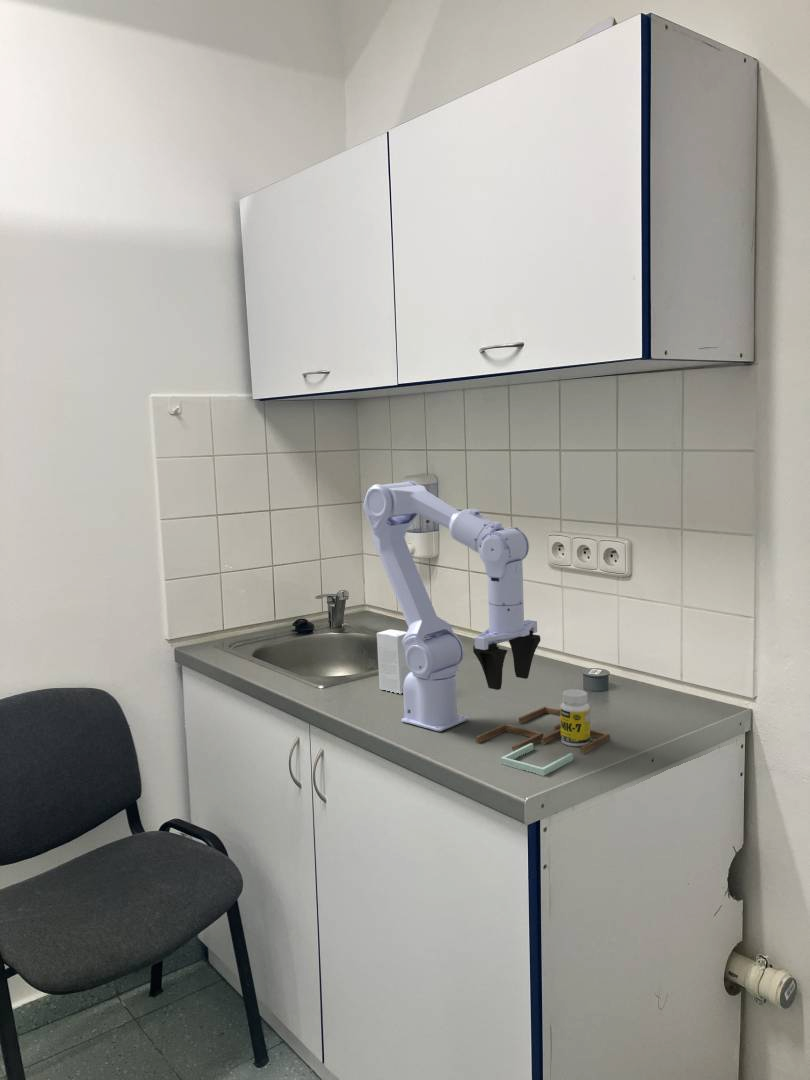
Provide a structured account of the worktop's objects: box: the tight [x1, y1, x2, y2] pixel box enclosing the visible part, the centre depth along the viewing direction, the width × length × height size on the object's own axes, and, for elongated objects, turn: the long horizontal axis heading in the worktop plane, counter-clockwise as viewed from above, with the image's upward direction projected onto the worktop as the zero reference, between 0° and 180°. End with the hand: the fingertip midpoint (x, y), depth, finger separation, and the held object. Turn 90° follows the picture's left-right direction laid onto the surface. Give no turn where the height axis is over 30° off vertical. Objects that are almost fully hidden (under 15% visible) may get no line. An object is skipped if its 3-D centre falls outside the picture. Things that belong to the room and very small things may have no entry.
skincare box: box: [376, 629, 411, 695], centre depth 179 cm, size 6×4×12 cm
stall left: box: [518, 705, 561, 731], centre depth 156 cm, size 8×8×1 cm
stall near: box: [475, 723, 544, 752], centre depth 147 cm, size 8×8×1 cm
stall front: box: [540, 729, 611, 755], centre depth 146 cm, size 8×8×1 cm
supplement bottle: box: [559, 688, 591, 747], centre depth 145 cm, size 5×5×8 cm
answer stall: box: [500, 743, 574, 777], centre depth 138 cm, size 8×8×1 cm
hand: (508, 683), depth 146 cm, fingers open, 7 cm apart
